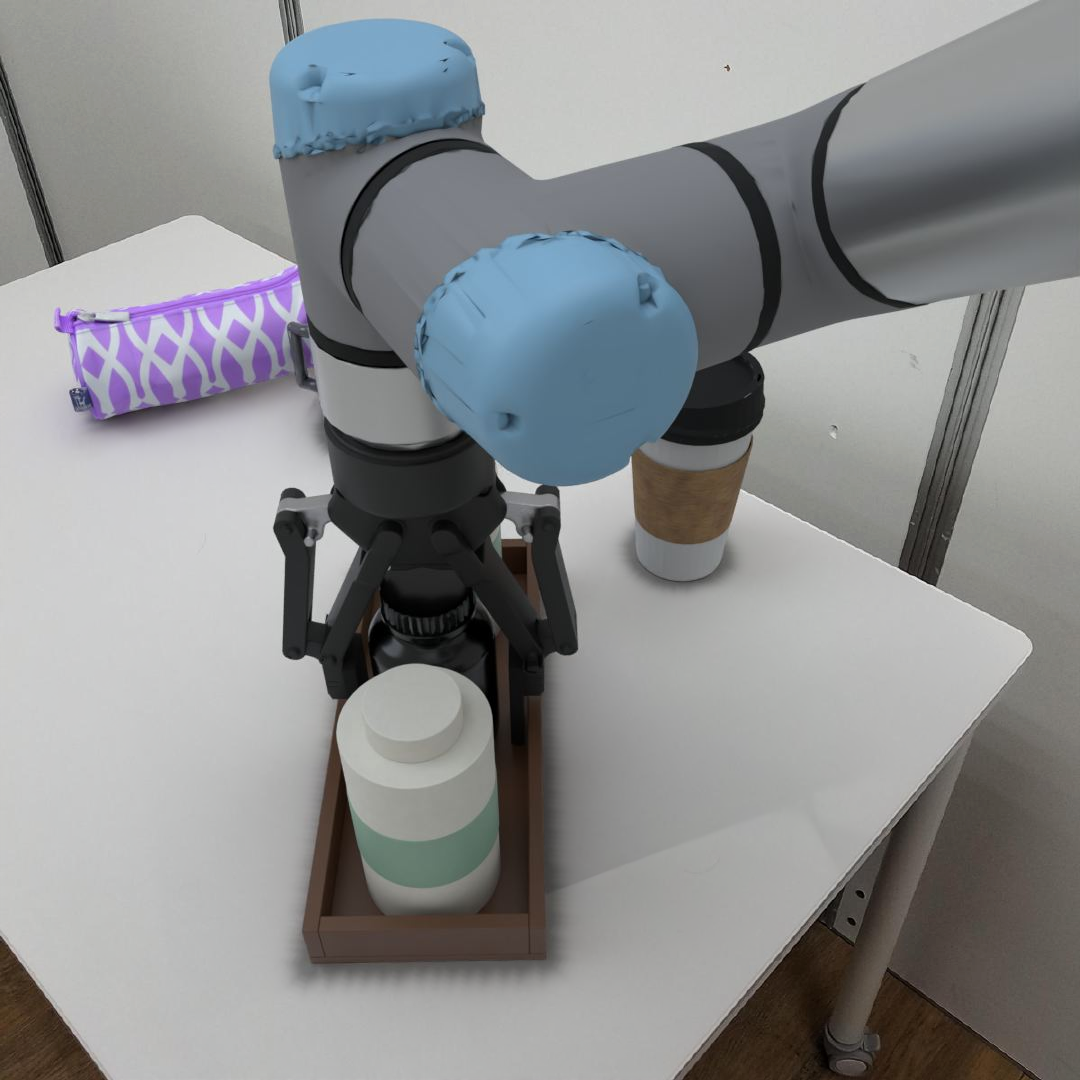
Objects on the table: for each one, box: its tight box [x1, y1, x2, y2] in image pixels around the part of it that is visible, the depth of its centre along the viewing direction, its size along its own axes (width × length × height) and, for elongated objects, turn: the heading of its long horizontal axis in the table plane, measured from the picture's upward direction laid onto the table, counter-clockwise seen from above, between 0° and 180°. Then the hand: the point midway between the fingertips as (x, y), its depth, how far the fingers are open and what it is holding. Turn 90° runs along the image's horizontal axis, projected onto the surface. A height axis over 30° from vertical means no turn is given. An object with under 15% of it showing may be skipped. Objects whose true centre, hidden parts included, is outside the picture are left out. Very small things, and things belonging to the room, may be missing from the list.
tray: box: [301, 538, 547, 964], centre depth 64 cm, size 12×28×3 cm, turn 1°
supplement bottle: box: [368, 567, 500, 741], centre depth 61 cm, size 7×7×12 cm
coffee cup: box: [630, 351, 766, 582], centre depth 72 cm, size 8×8×15 cm
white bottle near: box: [336, 664, 501, 915], centre depth 54 cm, size 7×7×14 cm
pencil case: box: [53, 264, 314, 421], centre depth 89 cm, size 22×9×10 cm, turn 115°
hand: (441, 725), depth 65 cm, fingers open, 8 cm apart
